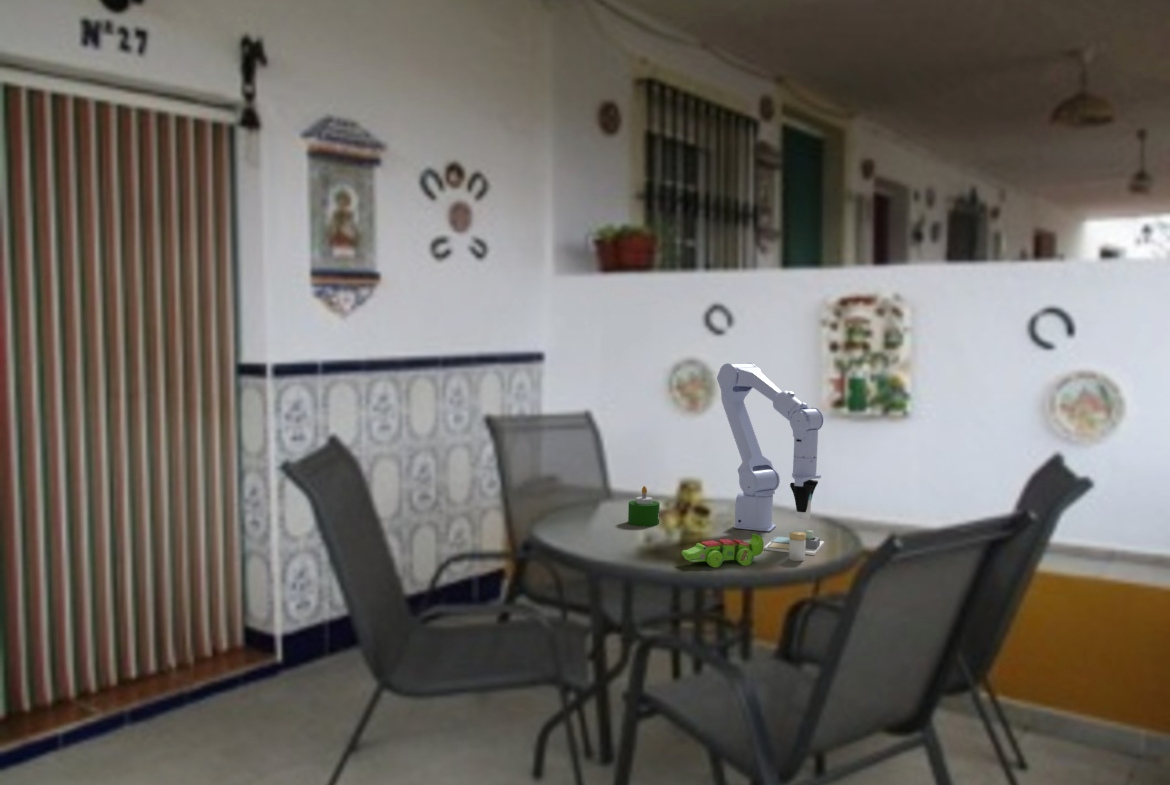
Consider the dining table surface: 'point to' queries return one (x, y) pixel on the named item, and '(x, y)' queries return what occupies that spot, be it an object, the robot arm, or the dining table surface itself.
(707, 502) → the dining table surface
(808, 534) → the button
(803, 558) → the jar with tan lid
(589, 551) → the dining table surface
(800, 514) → the jar with teal lid
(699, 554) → the toy crocodile
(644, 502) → the candle
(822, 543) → the picture board
